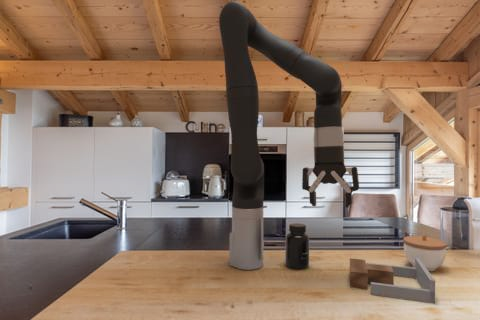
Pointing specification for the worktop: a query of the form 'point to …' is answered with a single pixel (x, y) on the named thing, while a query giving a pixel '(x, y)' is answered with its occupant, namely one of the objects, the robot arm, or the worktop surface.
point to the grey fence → (410, 293)
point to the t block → (369, 274)
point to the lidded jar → (425, 251)
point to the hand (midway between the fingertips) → (330, 206)
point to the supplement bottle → (297, 247)
